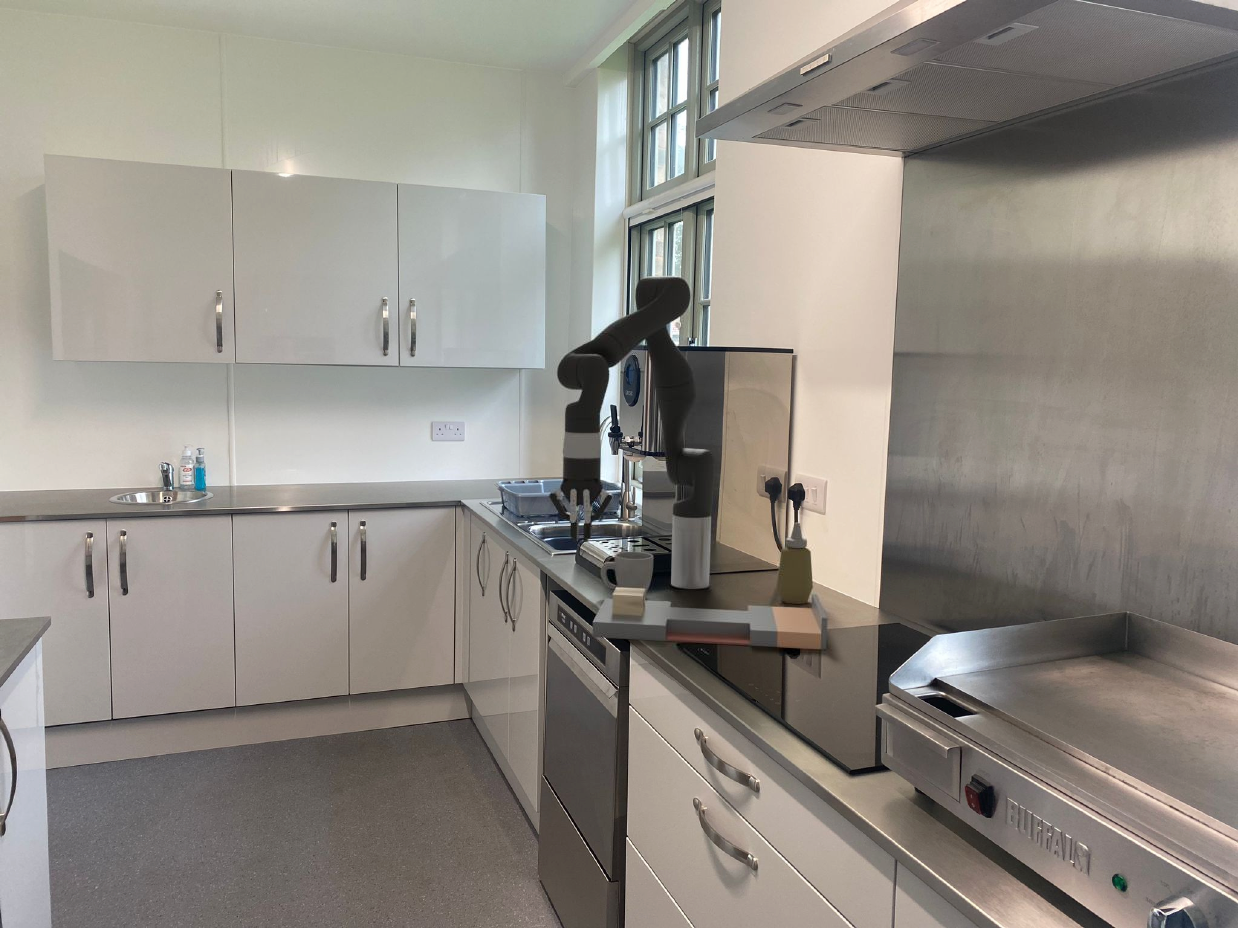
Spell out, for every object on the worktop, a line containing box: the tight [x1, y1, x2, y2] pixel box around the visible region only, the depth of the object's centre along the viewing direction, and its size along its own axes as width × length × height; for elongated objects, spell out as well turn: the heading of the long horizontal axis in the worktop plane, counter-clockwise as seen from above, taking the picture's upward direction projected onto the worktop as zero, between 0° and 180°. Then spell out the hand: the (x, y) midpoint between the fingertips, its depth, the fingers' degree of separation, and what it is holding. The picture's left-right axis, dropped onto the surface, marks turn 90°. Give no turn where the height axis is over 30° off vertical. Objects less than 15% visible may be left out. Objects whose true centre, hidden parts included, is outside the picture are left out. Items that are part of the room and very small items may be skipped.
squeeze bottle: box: [776, 522, 814, 605], centre depth 194 cm, size 8×8×18 cm
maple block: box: [611, 587, 646, 616], centre depth 173 cm, size 6×6×4 cm
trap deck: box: [592, 593, 828, 650], centre depth 171 cm, size 18×44×6 cm, turn 83°
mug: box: [600, 551, 654, 595], centre depth 196 cm, size 12×9×10 cm
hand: (580, 540), depth 173 cm, fingers closed
